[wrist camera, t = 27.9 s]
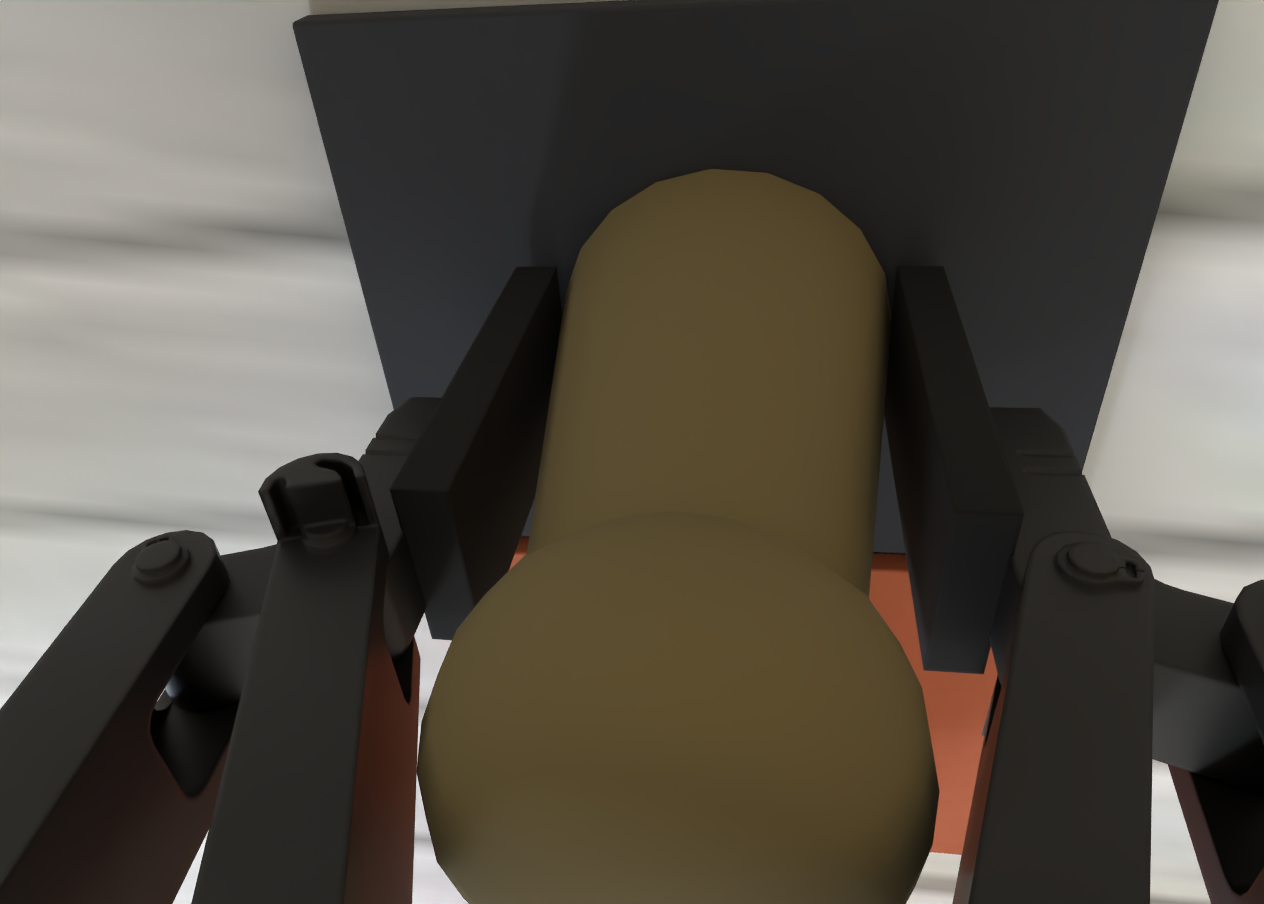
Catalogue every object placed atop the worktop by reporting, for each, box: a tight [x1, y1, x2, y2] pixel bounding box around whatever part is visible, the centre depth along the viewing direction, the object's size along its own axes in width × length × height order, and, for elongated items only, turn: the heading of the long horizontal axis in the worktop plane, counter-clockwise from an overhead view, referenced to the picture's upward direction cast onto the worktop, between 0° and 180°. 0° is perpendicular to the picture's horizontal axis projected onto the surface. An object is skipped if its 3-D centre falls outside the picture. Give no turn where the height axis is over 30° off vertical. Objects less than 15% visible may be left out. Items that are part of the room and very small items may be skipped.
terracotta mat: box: [509, 537, 998, 855], centre depth 24 cm, size 14×11×1 cm
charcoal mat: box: [293, 0, 1219, 553], centre depth 17 cm, size 14×11×1 cm
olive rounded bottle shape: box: [417, 169, 940, 904], centre depth 12 cm, size 6×6×11 cm
